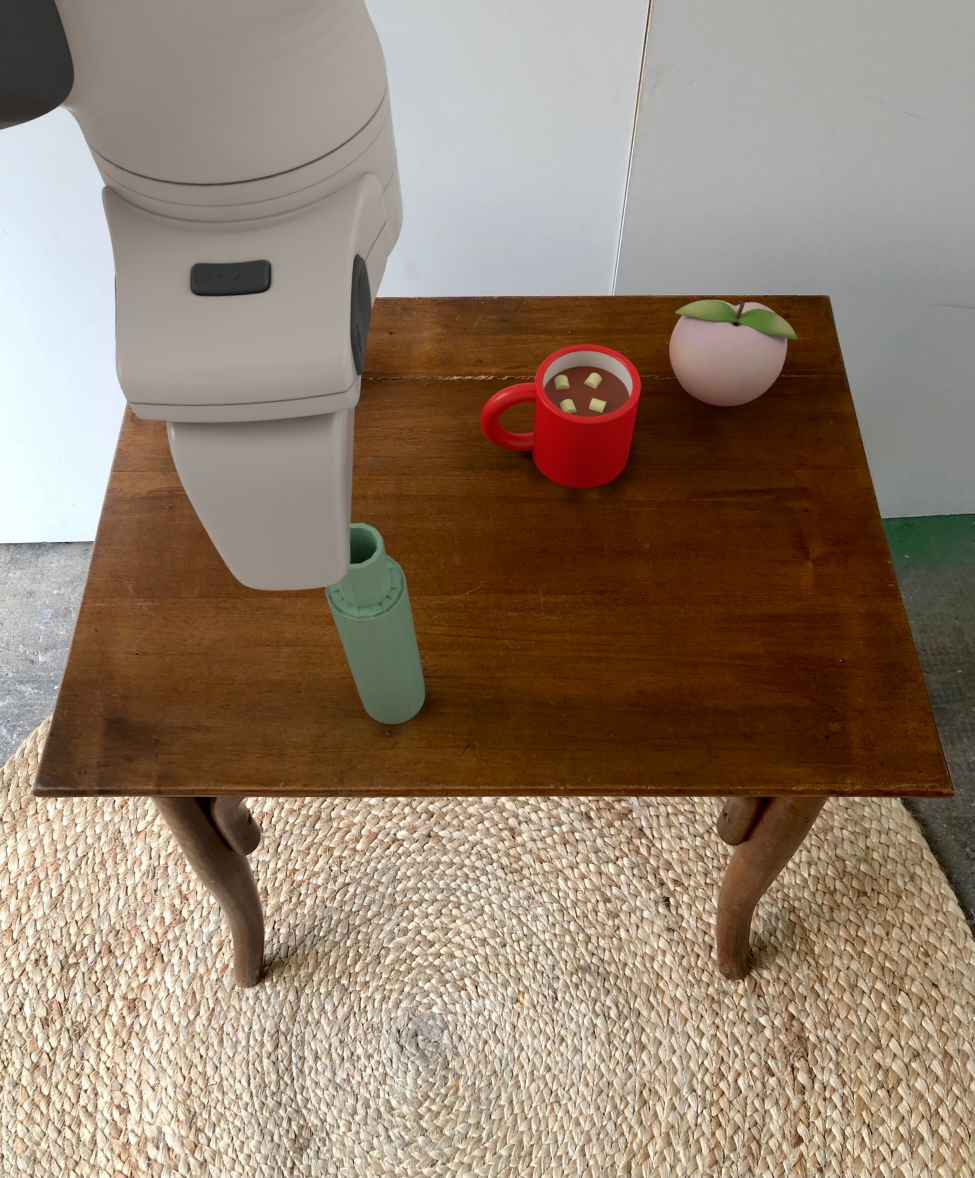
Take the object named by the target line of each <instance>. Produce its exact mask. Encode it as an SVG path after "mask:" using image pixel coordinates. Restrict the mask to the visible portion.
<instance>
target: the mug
mask: <svg viewBox="0 0 975 1178" xmlns="http://www.w3.org/2000/svg"><path fill="white" fill-rule="evenodd" d="M641 390H642V383H641V376H640V374H639V372H638V370H637V368H636V366H634V363H633V362H631V361H630V360H629V359H628V357H626V356H624V354H621V353H620V352H618V351H616V350H614V349H612V348H610V347H606V346H603V345H597V344H589V343H588V344H587V343H586V344H584V343H583V344H581V343H579V344H575V345H569V346H567V347H566V346H565V347H563V348H559V349H558V350H556V351H554V352H552V353H551V354H550V355H548V356H547V357H546V358H545V359H543V361H542V362H541V363H540V365H539V367H538V368H537V370H536V373H535V377H534V382H521V383H518V384H512V385H510V386H508V387H505V388H502V389H501V390H499V391H497V392H496V393H495V394H493V395H492V396H491V397H489V399H488V400H487V401H486V402H485V403H484V406H483V407H482V409H481V413H480V416H479V418H480V419H479V423H480V424H479V426H480V428H481V431H482V432H483V434H484V436H485V438H486V439H487V440H488V441H489V442H490V443H492V444H493V445H494V446H497V447H499V448H500V449H501V448H502V449H505V450H508V451H514V452H531V455H532V459H533V462H534V464H535V465H536V467H537V469H538V470H539V471H540V472H541V474H543V475H544V476H545V478H548V479H549V480H550V481H552V482H553V483H556V484H558V485H560V486H563V487H566V488H572V489H592V488H597V487H598V488H599V487H601V486H604V485H606V484H608V483H610V482H612V481H613V480H615V479H616V478H617V477H618V476H619V475H620V474H621V473H622V471H623V470H624V469H625V467H626V466H627V463H628V461H629V454H630V450H631V444H632V439H633V433H634V428H635V424H636V423H635V422H636V419H637V412H638V408H639V407H638V406H639V401H640V396H641ZM522 403H523V404H524V403H533V409H532V411H533V413H532V414H533V415H532V431H529V432H514V431H513V432H512V431H509V430H508V429H506V428H504V427H502V426H501V424H500V421H499V420H500V417H501V416H502V414H503V413H504V412H505V411H506V410H507V409H509V408H511V407H513V406H515V405H518V404H522Z"/></svg>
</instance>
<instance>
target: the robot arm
mask: <svg viewBox="0 0 975 1178" xmlns="http://www.w3.org/2000/svg"><path fill="white" fill-rule="evenodd" d="M388 78H389V77H388V71H387V62H386V59H385V53H384V50H383V46H382V44H381V41H380V37H379V34H378V32H377V29H376V28H375V25H374V23H373V21H372V19H371V16H370V13H369V11H368V8H367V5H366V1H365V0H0V131H2V130H5V129H9V128H12V127H17V126H20V125H22V124H26V123H28V122H31V121H33V120H36V119H38V118H41V117H43V116H45V115H47V114H49V113H51V112H52V111H54V110H56V109H57V108H62V109H65V110H66V111H68V112H69V113H70V114H71V115H72V118H74V119H75V121H76V123H77V124H78V126H79V129H80V131H81V133H82V135H83V137H84V140H85V143H86V145H87V147H88V149H89V152H90V154H91V156H92V159H93V162H94V164H95V166H96V168H97V170H98V172H99V175H100V177H101V180H102V182H103V185H104V186H103V187H102V189H101V201H102V206H103V212H104V216H105V220H106V223H107V228H108V231H109V237H110V243H111V247H112V255H113V265H114V266H113V267H114V301H115V302H114V303H115V306H114V307H115V310H114V311H115V314H114V315H115V317H114V318H115V321H114V322H115V324H114V325H115V326H114V327H115V328H114V329H115V330H114V333H115V335H114V336H115V338H114V340H115V354H114V355H115V371H116V377H117V381H118V384H119V387H120V389H121V391H122V393H123V396H124V398H125V400H126V401H127V404H128V406H129V407H130V408H131V410H132V412H133V413H134V414H135V415H136V417H137V418H139V419H140V420H141V421H152V422H165V423H166V433H167V438H168V444H169V449H170V452H171V457H172V461H173V464H174V467H175V470H176V473H177V475H178V478H179V480H180V482H181V485H182V487H183V489H184V491H185V494H186V496H187V497H188V499H189V501H190V503H191V505H192V507H193V509H194V511H195V513H196V515H197V517H198V519H199V520H200V523H201V524H202V526H203V528H204V529H205V532H206V533H207V535H208V536H209V538H210V540H211V542H212V544H213V546H214V548H215V549H216V550H217V553H218V554H219V556H220V558H221V559H222V560H223V562H224V563H225V565H226V567H227V569H228V570H229V572H230V573H231V574H232V576H234V578H235V579H236V580H237V581H238V582H239V583H240V584H242V585H243V586H245V587H247V588H250V589H253V590H259V591H274V592H275V591H303V590H314V589H321V588H326V587H327V586H331V585H334V584H336V583H338V582H340V581H341V580H342V579H344V578H345V576H346V575H347V573H348V570H349V566H350V524H352V523H351V521H352V519H351V518H352V494H353V467H354V439H355V414H356V413H355V412H356V406H357V405H358V403H359V402H360V401H359V400H360V396H361V386H362V383H361V382H362V375H363V374H364V372H365V361H366V352H367V344H368V342H367V341H368V335H369V329H370V325H371V321H372V320H371V319H372V312H373V311H372V310H373V308H374V303H375V300H376V298H377V296H378V292H379V289H380V287H381V283H382V280H383V278H384V275H385V272H386V269H387V268H386V267H387V262H388V257H389V256H391V253H392V251H393V250H394V248H395V247H396V245H397V242H398V240H399V237H400V235H401V232H402V228H403V222H404V204H403V196H402V195H403V194H402V188H401V187H402V186H401V178H400V171H399V170H400V169H399V161H398V153H397V147H396V140H395V139H396V137H395V131H394V121H393V115H392V106H391V105H392V104H391V96H390V88H389V80H388Z"/></svg>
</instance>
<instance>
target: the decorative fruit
mask: <svg viewBox="0 0 975 1178" xmlns="http://www.w3.org/2000/svg"><path fill="white" fill-rule="evenodd" d="M674 314H676V315H679V316H680V317H679V319H678V321H677V322H676V324H675V326H674V328H673V330H672V333H671V336H670V341H669V349H668V350H669V360H670V364H671V367H672V371H673V373H674V375H675V377H676V379H677V381H678V382H679V384H680V386H681V387H682V388H683V389H684V391H685V392H687V394H689V395H690V396H691V397H693V398H694V399H696V400H699V401H700V402H702V403H706V404H709V405H713V406H718V407H733V406H735V407H736V406H741V405H744V404H747V403H750V402H751V401H753V400H755V399H758V398H759V397H760V396H762V395H763V394H765V392H767V391H768V389H769V388H771V386H772V385H773V384H774V383H775V382H776V380H777V379H778V377H779V376H780V374H781V372H782V370H783V366H784V364H785V361H786V356H787V351H788V339H789V340H797V339H798V336H797V334H796V332H795V329H793V327H792V326H791V325H790V323H789V322H788V321H786V320H785V319H784V318H783V317H782V316H781V315H779V314H777V313H776V312H775V311H773V310H772V309H771V308H769V306H766V305H764V304H762V303H760V302H756V301H755V302H754V301H749V302H745V301H740V303H739V304H737V305H733V304H732V303H729V302H727V301H724V300H720V299H702V300H696V301H694V302H691V303H688V304H685V305H683V306H682V307H680V308H679V309H677V310H676V311H674Z"/></svg>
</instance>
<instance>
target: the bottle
mask: <svg viewBox="0 0 975 1178" xmlns="http://www.w3.org/2000/svg"><path fill="white" fill-rule="evenodd" d="M324 594H325V598H326V600H327V603H328V606H329V609H330V612H331V615H332V618H333V622H334V624H335V627H336V629H337V632H338V635H339V638H340V641H341V645H342V648H343V650H344V653H345V656H346V660H347V662H348V664H349V665H348V666H349V668H350V670H351V674H352V677H353V680H354V683H355V686H356V689H357V692H358V695H359V698H360V701H361V703H362V705H363V708H364V710H365V712H366V713H367V714H368V715H369V717H370V718H372V719H373V720H375V721H376V722H378V723H380V724H381V723H382V724H386V725H398V724H402V723H405V722H407V721H409V720H411V719H412V718H414V717H415V716H416V715H417V714H418V713H419V712H420V710H421V709H422V707H423V705H424V702H425V699H426V687H425V686H426V685H425V684H426V683H425V679H424V673H423V669H422V668H423V667H422V663H421V657H420V652H419V646H418V645H419V644H418V640H417V634H416V628H415V624H414V618H413V617H414V616H413V612H412V606H411V600H410V596H409V591H408V585H407V579H406V575H405V573H404V570H403V569H402V567H401V565H400V564H399V563H398V562H397V561H395V559H393V558H392V557H390V555H387V552H386V547H385V544H384V538H383V536H382V535H381V534H380V532H379V530H377V528H375V527H374V526H372V525H369V524H367V523H364V522H355V523H354V522H353V523H350V566H349V570H348V573H347V575H346V576H345V578H344V579H342V580H341V581H340V582H338V583H336V584H334V585H331V586H327V587H325V593H324Z"/></svg>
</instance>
